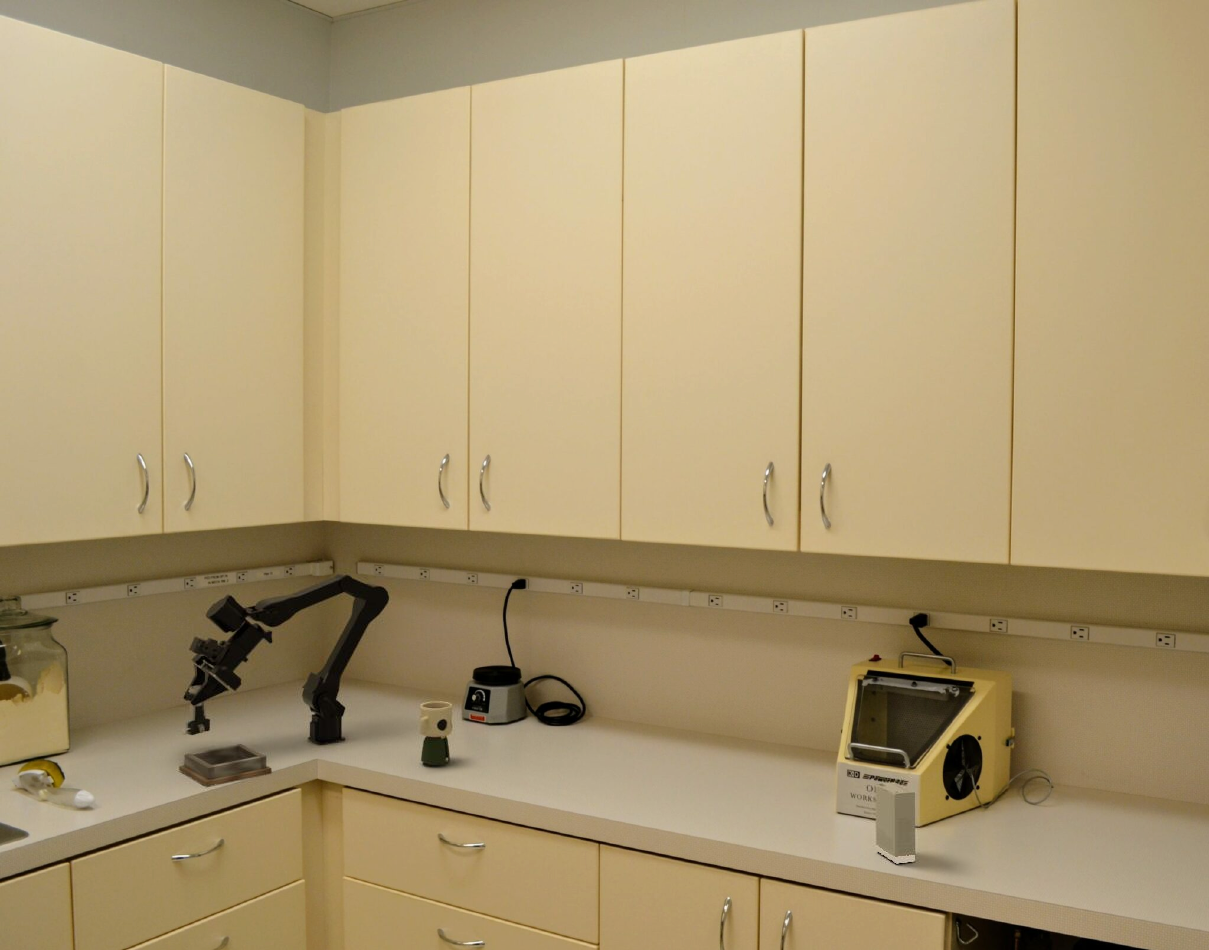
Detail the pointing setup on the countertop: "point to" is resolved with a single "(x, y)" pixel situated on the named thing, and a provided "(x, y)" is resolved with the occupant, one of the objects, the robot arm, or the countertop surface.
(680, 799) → the countertop surface
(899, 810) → the skincare box
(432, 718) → the character mug
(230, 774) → the tray
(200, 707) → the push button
